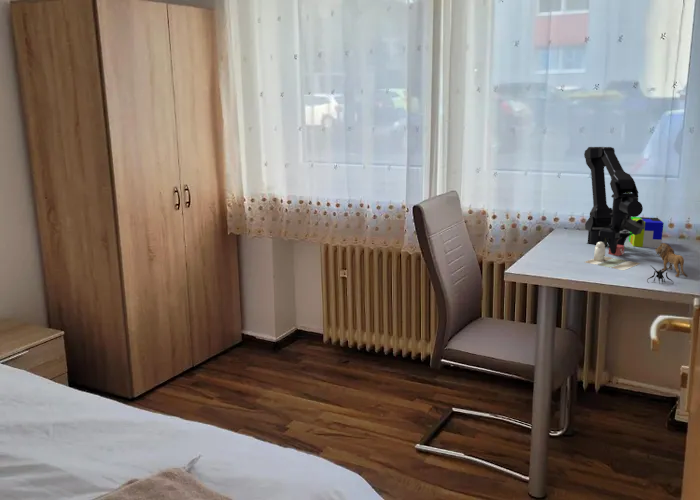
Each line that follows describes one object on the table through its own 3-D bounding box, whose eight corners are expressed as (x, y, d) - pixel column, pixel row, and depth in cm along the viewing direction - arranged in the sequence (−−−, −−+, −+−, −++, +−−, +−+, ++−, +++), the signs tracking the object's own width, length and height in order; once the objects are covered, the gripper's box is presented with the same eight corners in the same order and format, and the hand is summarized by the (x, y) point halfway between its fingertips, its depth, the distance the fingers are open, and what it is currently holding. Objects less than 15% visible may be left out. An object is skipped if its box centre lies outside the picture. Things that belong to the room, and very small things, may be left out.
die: (608, 256, 251) (609, 244, 250) (613, 253, 254) (614, 242, 253) (619, 258, 248) (620, 246, 247) (624, 256, 251) (626, 244, 250)
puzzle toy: (660, 247, 263) (663, 222, 261) (633, 246, 265) (636, 221, 263) (654, 242, 273) (657, 217, 270) (628, 240, 275) (631, 216, 272)
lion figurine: (650, 267, 236) (653, 242, 234) (663, 266, 237) (666, 241, 235) (680, 279, 222) (684, 252, 220) (694, 277, 224) (697, 251, 221)
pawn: (591, 259, 243) (593, 241, 241) (596, 258, 245) (598, 240, 243) (601, 261, 240) (603, 243, 238) (606, 260, 242) (608, 241, 241)
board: (582, 264, 240) (582, 262, 240) (601, 257, 249) (602, 255, 249) (623, 273, 229) (623, 270, 229) (641, 265, 238) (642, 263, 238)
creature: (673, 290, 215) (671, 278, 221) (675, 275, 212) (674, 263, 219) (646, 287, 217) (646, 275, 224) (648, 273, 215) (647, 261, 221)
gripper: (630, 218, 235) (625, 261, 239) (653, 211, 247) (648, 252, 251) (600, 213, 243) (596, 255, 247) (624, 207, 255) (620, 247, 259)
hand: (616, 252), depth 251 cm, fingers closed on die, 4 cm apart
